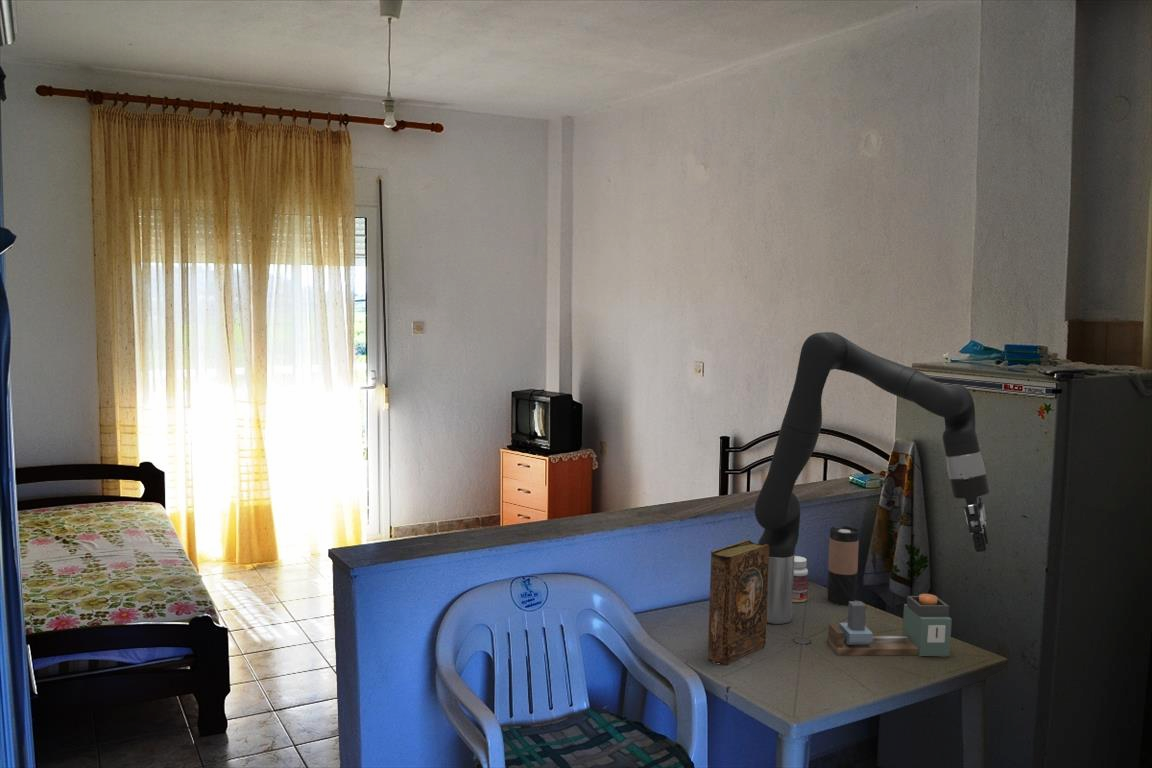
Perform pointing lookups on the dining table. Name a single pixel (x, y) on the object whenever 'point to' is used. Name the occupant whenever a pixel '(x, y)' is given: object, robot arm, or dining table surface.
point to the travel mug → (843, 564)
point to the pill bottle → (800, 579)
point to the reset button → (927, 599)
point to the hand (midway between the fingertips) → (982, 547)
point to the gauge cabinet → (927, 627)
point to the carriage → (856, 625)
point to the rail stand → (870, 645)
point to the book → (738, 601)
